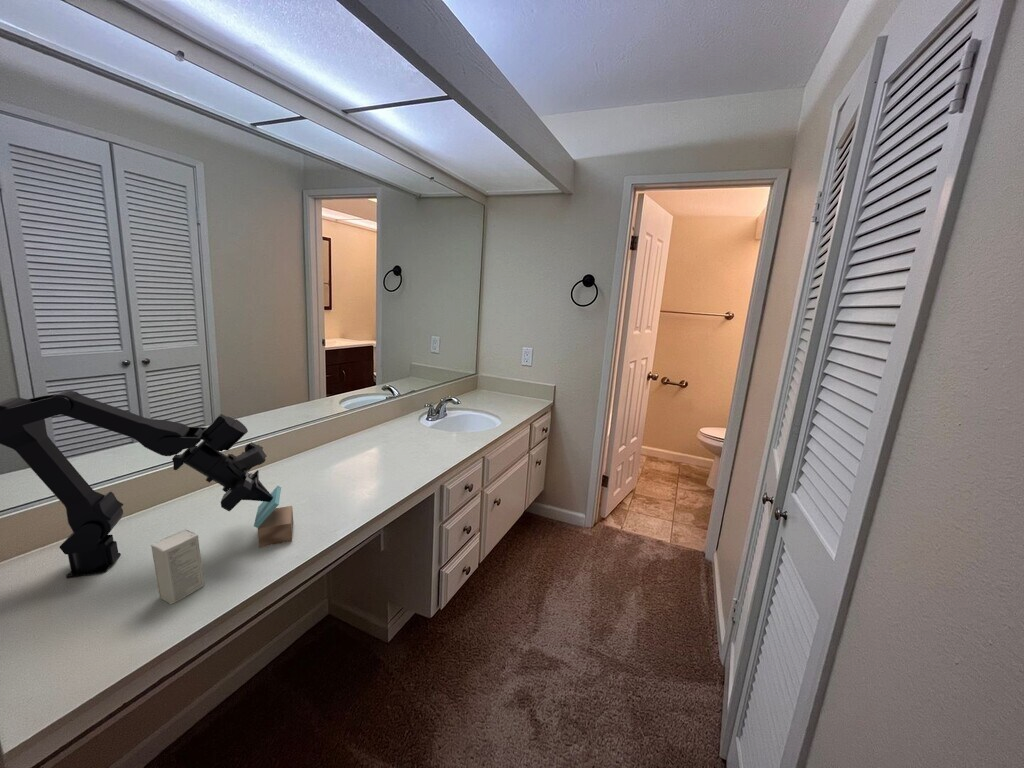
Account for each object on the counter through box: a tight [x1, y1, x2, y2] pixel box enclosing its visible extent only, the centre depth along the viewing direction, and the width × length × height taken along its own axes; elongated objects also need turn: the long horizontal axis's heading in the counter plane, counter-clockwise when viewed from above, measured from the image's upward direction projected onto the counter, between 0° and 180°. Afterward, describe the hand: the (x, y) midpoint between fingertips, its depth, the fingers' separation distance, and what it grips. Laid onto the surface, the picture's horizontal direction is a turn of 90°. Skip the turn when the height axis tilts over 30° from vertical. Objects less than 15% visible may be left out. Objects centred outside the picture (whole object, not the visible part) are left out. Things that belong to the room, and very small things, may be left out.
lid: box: [253, 485, 282, 529], centre depth 101 cm, size 7×9×1 cm
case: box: [257, 505, 294, 548], centre depth 103 cm, size 7×9×5 cm
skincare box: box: [150, 528, 205, 605], centre depth 81 cm, size 6×4×12 cm
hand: (271, 499), depth 101 cm, fingers closed, pressing on lid
